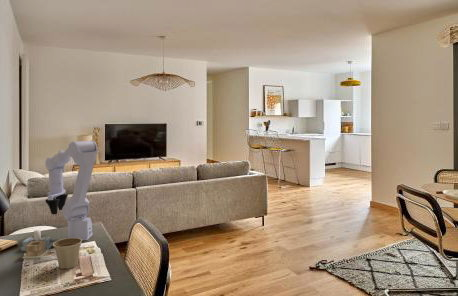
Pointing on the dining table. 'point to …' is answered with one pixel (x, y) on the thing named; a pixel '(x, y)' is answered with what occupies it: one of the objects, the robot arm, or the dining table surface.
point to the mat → (36, 256)
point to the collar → (35, 248)
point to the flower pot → (67, 252)
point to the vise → (37, 237)
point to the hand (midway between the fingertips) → (57, 212)
